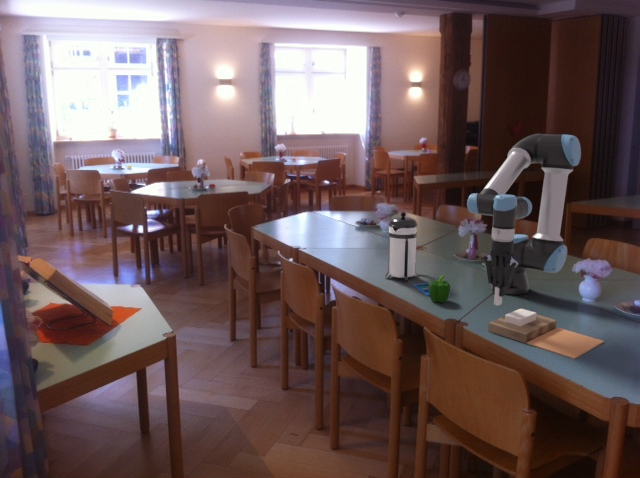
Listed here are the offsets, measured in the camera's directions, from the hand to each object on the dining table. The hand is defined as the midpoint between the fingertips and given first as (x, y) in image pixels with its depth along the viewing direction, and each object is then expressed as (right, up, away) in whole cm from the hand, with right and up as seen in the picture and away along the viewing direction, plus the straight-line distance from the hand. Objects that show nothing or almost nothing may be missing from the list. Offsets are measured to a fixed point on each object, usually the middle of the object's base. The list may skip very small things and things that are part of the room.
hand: (497, 304), depth 211 cm
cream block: (+6, -5, -6) cm, 10 cm away
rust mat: (+17, -11, -17) cm, 26 cm away
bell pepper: (-16, -2, +24) cm, 29 cm away
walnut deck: (+7, -8, -6) cm, 12 cm away
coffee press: (-26, +6, +57) cm, 63 cm away
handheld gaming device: (-18, +1, +38) cm, 42 cm away
